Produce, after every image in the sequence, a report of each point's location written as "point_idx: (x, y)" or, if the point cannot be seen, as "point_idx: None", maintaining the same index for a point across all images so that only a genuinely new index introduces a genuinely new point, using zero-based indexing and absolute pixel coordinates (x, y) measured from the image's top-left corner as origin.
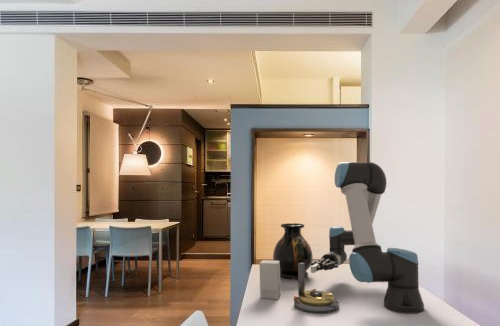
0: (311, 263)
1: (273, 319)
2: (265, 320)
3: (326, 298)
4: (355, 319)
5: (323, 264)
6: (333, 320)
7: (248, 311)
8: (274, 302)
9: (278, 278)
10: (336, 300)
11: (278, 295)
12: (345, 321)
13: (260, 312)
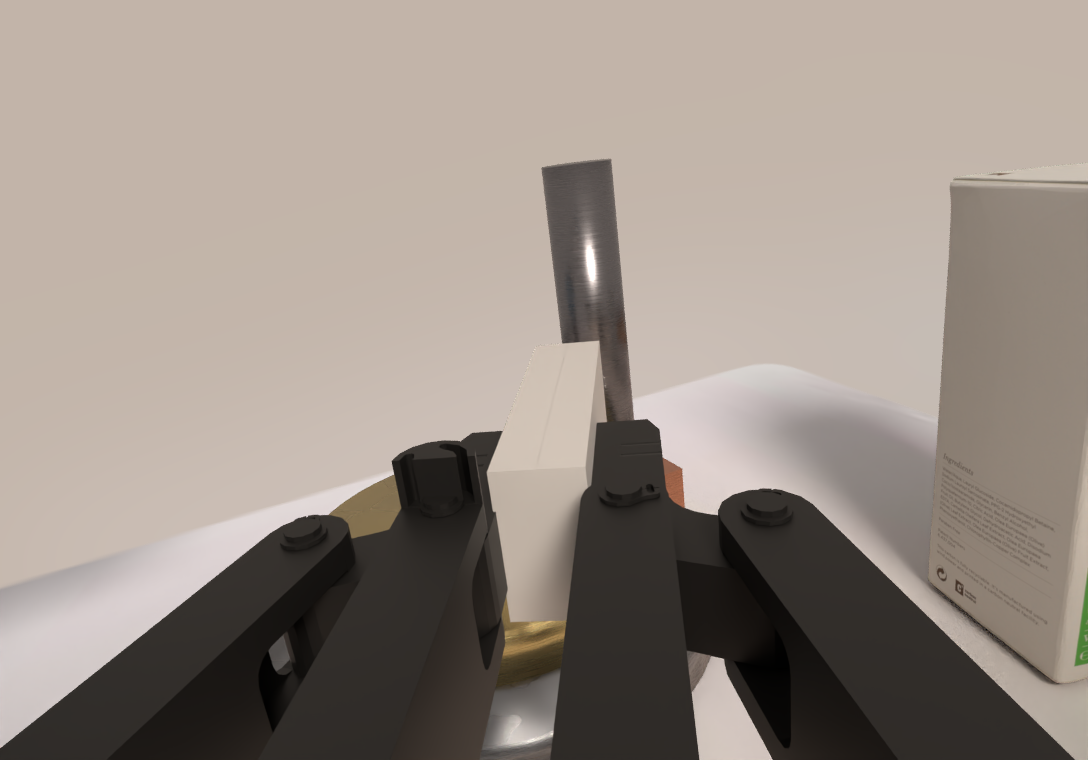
0: (779, 500)
1: (658, 403)
2: (685, 389)
3: (372, 507)
4: (187, 548)
5: (366, 592)
6: (340, 493)
7: (856, 402)
8: (879, 530)
9: (969, 388)
10: (273, 664)
11: (940, 560)
12: (265, 509)
13: (787, 417)
